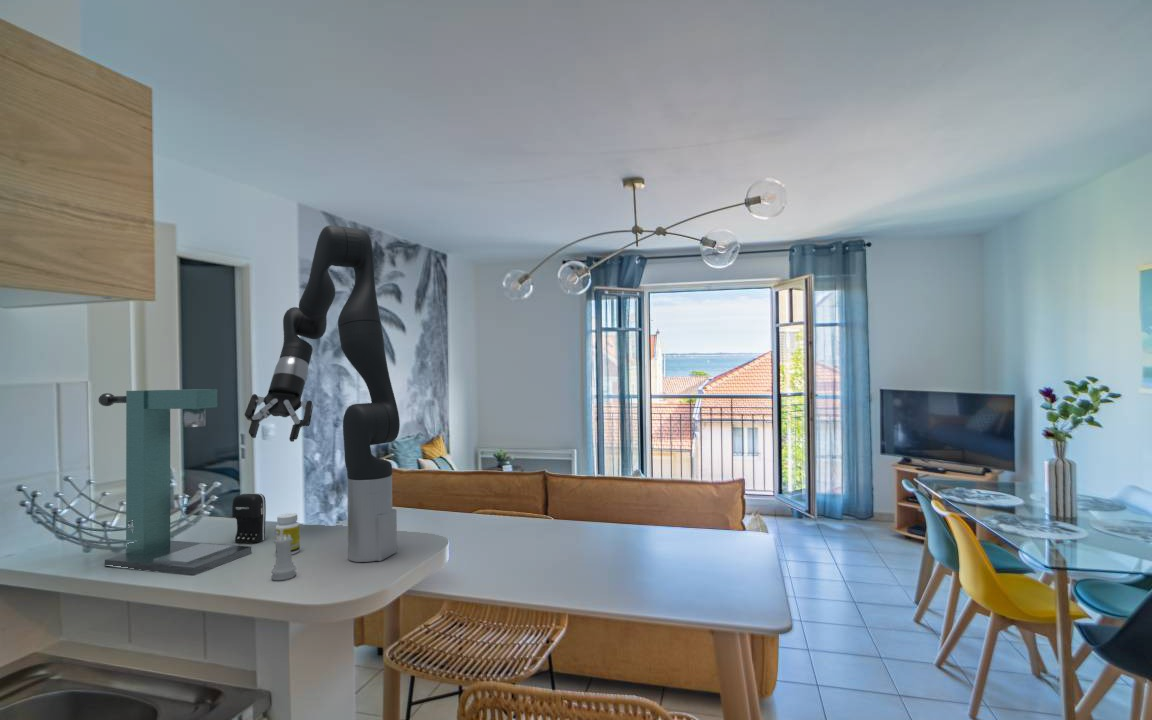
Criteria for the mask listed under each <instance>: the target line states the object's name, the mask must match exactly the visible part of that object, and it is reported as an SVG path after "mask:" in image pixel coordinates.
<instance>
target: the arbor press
mask: <svg viewBox="0 0 1152 720" xmlns="http://www.w3.org/2000/svg"><path fill="white" fill-rule="evenodd" d="M125 394H126V395H114V394H113V393H109V392H108V393H107V392H106V393H102V394H101V395H100V396H99V397H98V403H99V405H101V406H102V407H111V406H112V405H114V404H125V406H126V407H125V408H126V409H125V413H126V414H125V416H126V418H125V419H126V420H125V422H126V423H125V425H126V426H125V428H126V433H125V434H126V436H125V438H126V441H125V442H126V445H125V449H126V451H125V453H126V454H125V455H126V457H125V458H126V459H125V461H126V462H125V466H126V467H125V478H126V480H125V483H126V485H125V493H126V494H125V496H126V497H125V510H126V511H125V541H126V540H138V541H137V542H134V543H129V544H127V547H128V548H127V549H126V548H125V553H122V554H119V555H115V556H112V557H109V558H105V559H104V566H105V565H113V566H121V567H128V568H134V569H141V570H140V571H144V570H150V571H149V572H154V571H158V572H157V573H165V572H166V573H167V574H175V575H176V574H179V575H186V576H187V575H188V576H189V575H190V576H195V575H198V574H200V573H203V572H206V571H209V570H211V569H214V568H216V567H219V566H222V565H224V564H227V563H230V562H232V561H235V560H237V559H240V558H243V557H246V556H248V555H250V554H252V546H248V545H235V544H225V543H224V544H221V543H210V542H209V543H208V542H198V541H197V542H194V541H180V540H171V410H173V409H174V410H176V409H177V410H182V427H183V428H198V427H201V428H202V427H206V409H210V408H218V388H213V389H212V388H207V389H205V388H203V389H202V388H201V389H200V388H199V389H197V388H196V389H149V390H147V389H146V390H141V389H140V390H126V393H125ZM131 520H133V521H131ZM128 521H130V522H133V526H134V530H133V533H132V531H131V530H130V529H129V530H126V528H128V527H129V526H128ZM166 573H165V574H166Z"/></svg>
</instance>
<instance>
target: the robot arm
mask: <svg viewBox="0 0 1152 720" xmlns="http://www.w3.org/2000/svg"><path fill="white" fill-rule="evenodd" d="M372 243H373V242H372V239H371V237H370V234H369V233H368V231H366V230H365V229H362V228H361V229H360V228H355V227H347V226H340V225H332V224H331V225H326V226H324V227H323V228H322V230H321V231H320V233H319V235H318V238H317V242H316V245H315V248H314V254H313V259H312V263H311V268H310V272H309V278H308V281H307V285H306V287H305V288H304V291H303V293H302V295H301V298H300V299H299V301H298V302H299V303H298V307H296V306H295V307H294V306H293V307H290V308H288V309H287V310H286V312H285V313H284V315H283V318H282V323H283V324H282V326H283V327H282V329H283V330H282V331H283V344H282V347H281V348H282V349H281V352H280V355H279V359H278V361H277V364H276V365H275V369H274V371H273V375H272V378H271V381H270V385H269V388H268V390H267V391H268V392H267V394H266V396H265V397H264V396H258V394H255V393H254V394H252V395H251V397H250V400H249V401H248V404H247V407H246V410H245V412H244V416H245V418H246V420H247V421H250V426H249V429H248V434H249V435H250V437H251V439H256V437H257V434H258V431H259V428H260V423H261V422H262V421H264V419H267V418H269V417H270V416H272V417H282V418H287V417H290V418H291V420H292V421H293V424H292V427H291V431H290V435H289V438H288V439H289V442H291V443H293V442H295V440H297V439H298V438H299V434H300V430H301V428H302V427H309V426H310V424H311V420H312V414H313V410H314V409H313V407H314V403H313V401H312V400H307V401H302V397H303V396H302V395H303V392H304V389H305V384H306V382H307V379H308V372H309V366H310V361H311V357H312V355H313V352H314V351H313V346H312V344H310V342H308V341H306V340H305V339H302V338H301V337H303V338H307V339H310V340H318V339H320V338H322V337H323V336H324V335H325V333H326V331H327V325H328V323H327V316H328V311H329V310H330V308H331V306H332V305H333V302H334V300H335V296H336V286H335V284H334V281H333V279H332V278H331V275H330V273H329V268H330V267H332V266H333V267H341V268H352V269H353V270H354V285H353V288H352V291H351V293H350V294H349V297H348V299H347V300H346V302H345V304H344V305H343V307H342V309H341V311H340V313H339V315H338V319H337V328H338V336H339V342H340V347H341V351H342V353H343V354H344V356H345V357H346V359H347V360H348V362H349V363H350V364H351V365H352V367H353V368H354V369H355V371H357V373H358V374H359V376H360V377H361V378H362V379H363V381H364V383H365V385H366V387H367V390H368V393H369V397H370V402H366V403H365V402H363V403H354V404H351V405H349V406H347V408H346V410H345V411H344V414H343V419H342V420H343V421H342V435H343V449H344V451H343V452H344V464H345V468H346V475H347V478H346V479H347V480H346V481H347V491H346V492H347V494H346V495H347V558H348V560H349V561H351V562H355V563H356V562H357V563H366V562H369V563H370V562H375V561H376V562H377V561H378V562H382V561H384V560H385V559H387V558H389V557H390V556H393V555H394V554H396V553H398V532H397V529H398V527H397V526H398V525H397V524H398V520H397V518H398V517H397V509H395V508H393V465H392V464H393V463H392V462H390V461H389V460H386V459H382V458H378V457H376V456H374V455H373V454H372V451H371V450H372V448H371V446H375V445H376V446H377V445H382V444H390V443H393V442H395V441H396V440H397V438H398V436H399V432H400V426H401V424H400V422H401V420H400V414H399V409H398V405H397V402H396V398H395V394H394V390H393V386H392V382H391V378H390V373H389V368H388V363H387V356H386V350H385V349H386V348H385V341H384V334H383V328H382V321H381V316H380V310H379V303H378V297H377V291H376V281H375V280H376V279H375V266H374V265H375V264H374V251H373V245H372ZM262 403H264V406H263V407H262V408H260V409H259V411H257V412H256V410H257V408H258V406H260V405H261V404H262ZM301 407H302V410H303V411H304V414H303V418H302V419H299V416H298V415H297V413H296V412H297V410H299V409H300V408H301ZM255 412H256V413H255Z"/></svg>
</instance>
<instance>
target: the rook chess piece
mask: <svg viewBox="0 0 1152 720" xmlns="http://www.w3.org/2000/svg"><path fill="white" fill-rule="evenodd" d="M292 541H293V539H292V538H291V535H288V537H286V535H284V537H282V535H280V536H278V537H276V536H275V541H274V542H273V543H274V544H275V546H276V545H277V549H276V548H275V552H276V551H277V555H276V559H275V564H274V566H273V568H272V569H271V573H272V574H271V577H270V578H271V580H273V581H278V582H281V581H287V580H291V579H293V578H294V577H295V576H296V575H297V571H296V570H297V566H296V565H295V564H294V563H295V562H293V558H292V555H291V548H292V547H291V546H290V544H291V542H292Z"/></svg>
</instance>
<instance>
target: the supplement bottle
mask: <svg viewBox="0 0 1152 720" xmlns="http://www.w3.org/2000/svg"><path fill="white" fill-rule="evenodd" d="M276 520H277V523H276V526H275V538H276V537H278V536H280V535H282V537H284V535H286V537H288V535H291V538H292V539H293V541H292V542H291V544H290V546H291V547H292V548H291V556H292V555H295V554H298V553H299V552H300V547H301V546H300V522H298V514H297V513H296V512H291V513H288V512H287V513H283V514H279V515H277V519H276ZM276 549H277V545H276V544H275V555H276V556H277V551H276Z"/></svg>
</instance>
